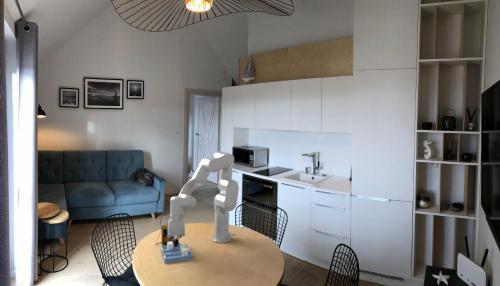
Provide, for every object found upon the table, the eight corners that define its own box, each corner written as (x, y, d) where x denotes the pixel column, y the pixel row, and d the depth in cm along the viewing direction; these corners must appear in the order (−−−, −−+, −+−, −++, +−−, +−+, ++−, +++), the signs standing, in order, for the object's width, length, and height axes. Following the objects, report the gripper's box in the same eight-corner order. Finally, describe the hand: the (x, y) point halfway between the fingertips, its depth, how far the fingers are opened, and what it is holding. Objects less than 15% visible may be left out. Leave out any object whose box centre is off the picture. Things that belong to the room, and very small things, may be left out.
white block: (172, 247, 201) (172, 241, 200) (173, 250, 197) (173, 243, 197) (167, 248, 200) (167, 241, 199) (168, 250, 196) (168, 244, 196)
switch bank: (186, 247, 205) (186, 243, 205) (192, 259, 189) (192, 255, 189) (160, 250, 199) (160, 246, 199) (164, 263, 183) (164, 259, 182)
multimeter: (182, 240, 216) (183, 211, 215) (177, 246, 206) (178, 216, 205) (161, 239, 218) (161, 210, 216) (155, 245, 208) (155, 214, 206)
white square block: (186, 253, 192) (186, 247, 192) (188, 256, 189) (188, 250, 188) (181, 254, 191) (181, 248, 191) (183, 257, 188) (183, 250, 187)
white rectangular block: (184, 249, 198) (184, 243, 198) (186, 252, 194) (186, 246, 194) (179, 250, 197) (180, 244, 196) (181, 253, 193) (181, 246, 193)
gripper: (187, 214, 204) (186, 242, 206) (163, 216, 199) (162, 245, 200) (189, 217, 198) (189, 246, 199) (164, 219, 192) (164, 249, 193)
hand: (175, 245), depth 200 cm, fingers closed
